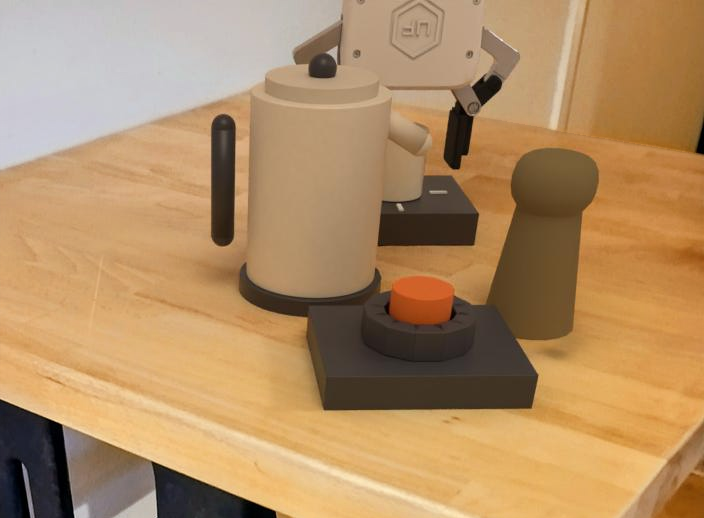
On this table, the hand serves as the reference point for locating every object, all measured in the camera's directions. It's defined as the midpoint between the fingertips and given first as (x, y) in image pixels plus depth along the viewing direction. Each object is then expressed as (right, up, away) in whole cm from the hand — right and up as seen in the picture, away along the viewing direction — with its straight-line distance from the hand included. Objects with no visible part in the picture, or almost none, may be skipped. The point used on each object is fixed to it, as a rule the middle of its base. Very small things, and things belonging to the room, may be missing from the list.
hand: (394, 164), depth 81 cm
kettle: (-7, -12, -9) cm, 17 cm away
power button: (-2, -17, -21) cm, 27 cm away
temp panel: (0, -4, +3) cm, 5 cm away
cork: (+7, -16, -13) cm, 21 cm away
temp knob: (0, -2, +1) cm, 2 cm away
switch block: (-2, -20, -19) cm, 28 cm away
